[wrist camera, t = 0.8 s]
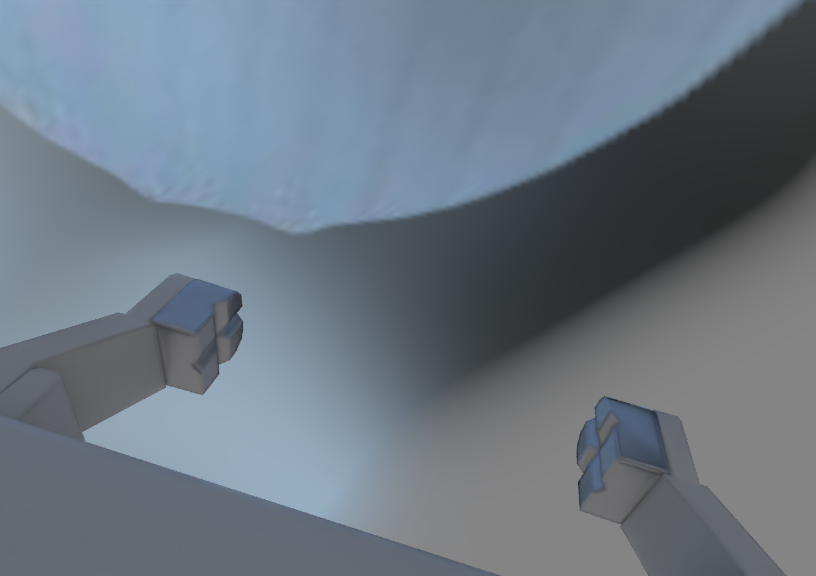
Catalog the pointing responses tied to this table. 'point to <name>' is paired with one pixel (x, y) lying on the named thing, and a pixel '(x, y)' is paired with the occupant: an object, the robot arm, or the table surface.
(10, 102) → the table surface
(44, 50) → the table surface
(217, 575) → the robot arm
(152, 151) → the table surface
